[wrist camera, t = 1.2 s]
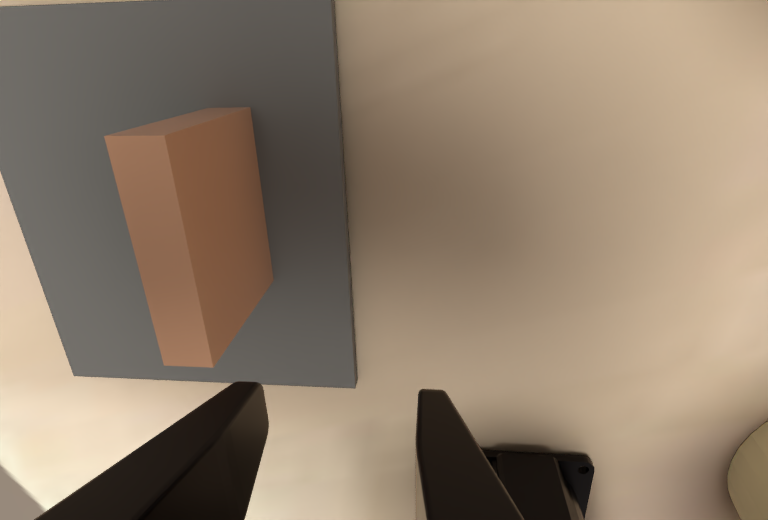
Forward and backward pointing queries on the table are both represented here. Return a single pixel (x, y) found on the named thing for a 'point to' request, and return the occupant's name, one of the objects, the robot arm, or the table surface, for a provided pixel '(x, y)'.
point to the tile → (195, 227)
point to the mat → (156, 103)
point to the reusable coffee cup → (750, 476)
